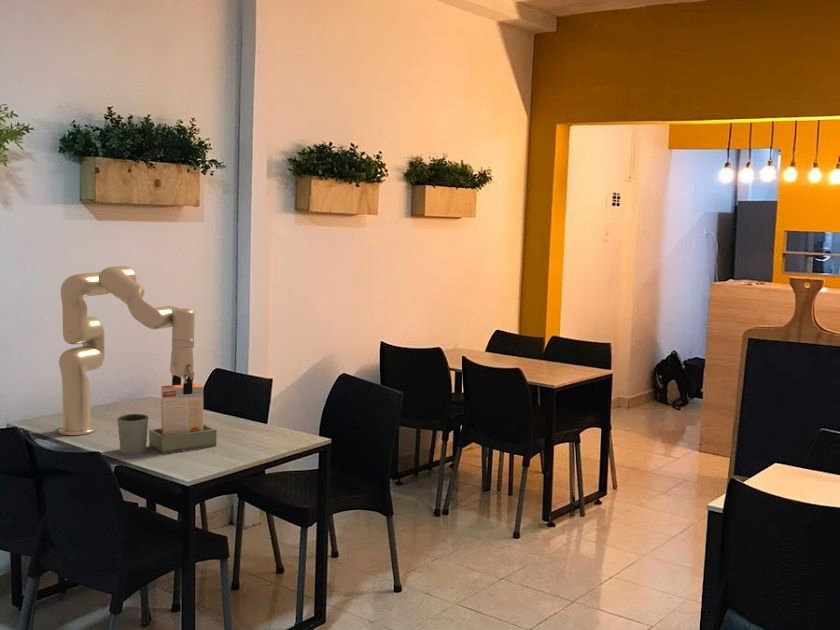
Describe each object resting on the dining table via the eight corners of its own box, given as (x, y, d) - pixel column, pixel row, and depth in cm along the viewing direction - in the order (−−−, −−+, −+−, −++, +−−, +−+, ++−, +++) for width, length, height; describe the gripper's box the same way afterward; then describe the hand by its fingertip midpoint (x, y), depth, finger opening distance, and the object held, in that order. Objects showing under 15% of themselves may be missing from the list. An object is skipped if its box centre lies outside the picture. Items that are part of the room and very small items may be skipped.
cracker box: (200, 439, 308) (201, 383, 305) (203, 443, 302) (204, 386, 300) (160, 442, 302) (160, 384, 300) (163, 446, 297) (163, 388, 294)
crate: (149, 446, 301) (149, 429, 300) (202, 438, 313) (202, 422, 312) (162, 454, 291) (162, 437, 291) (216, 445, 304) (216, 429, 303)
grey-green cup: (150, 446, 300) (150, 413, 299) (145, 454, 290) (145, 420, 289) (120, 446, 298) (120, 413, 297) (114, 454, 289) (114, 420, 287)
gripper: (163, 340, 302) (162, 387, 304) (182, 348, 289) (181, 397, 291) (183, 339, 307) (182, 385, 309) (203, 347, 294) (202, 395, 296)
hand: (182, 391), depth 300 cm, fingers open, 9 cm apart
